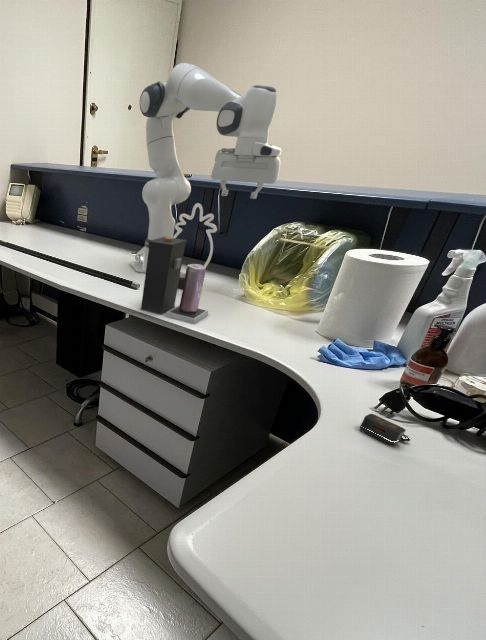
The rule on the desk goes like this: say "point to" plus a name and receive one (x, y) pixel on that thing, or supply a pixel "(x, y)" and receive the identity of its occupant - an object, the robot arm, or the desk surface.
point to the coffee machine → (166, 279)
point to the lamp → (182, 274)
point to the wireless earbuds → (383, 429)
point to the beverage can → (192, 288)
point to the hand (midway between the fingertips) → (238, 197)
